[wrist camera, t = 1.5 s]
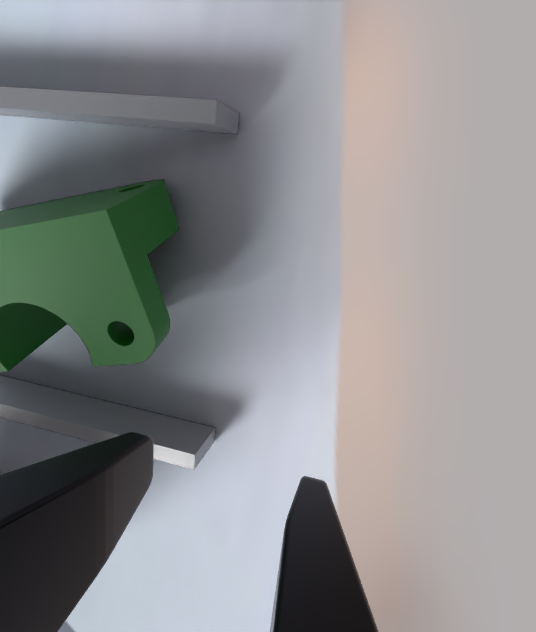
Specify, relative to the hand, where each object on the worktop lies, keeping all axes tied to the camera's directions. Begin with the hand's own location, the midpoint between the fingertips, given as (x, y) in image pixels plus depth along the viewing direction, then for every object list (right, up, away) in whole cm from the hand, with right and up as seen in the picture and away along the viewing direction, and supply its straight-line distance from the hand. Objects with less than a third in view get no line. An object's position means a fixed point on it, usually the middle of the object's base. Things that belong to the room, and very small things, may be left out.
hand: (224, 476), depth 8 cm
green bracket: (-8, +5, +14) cm, 17 cm away
